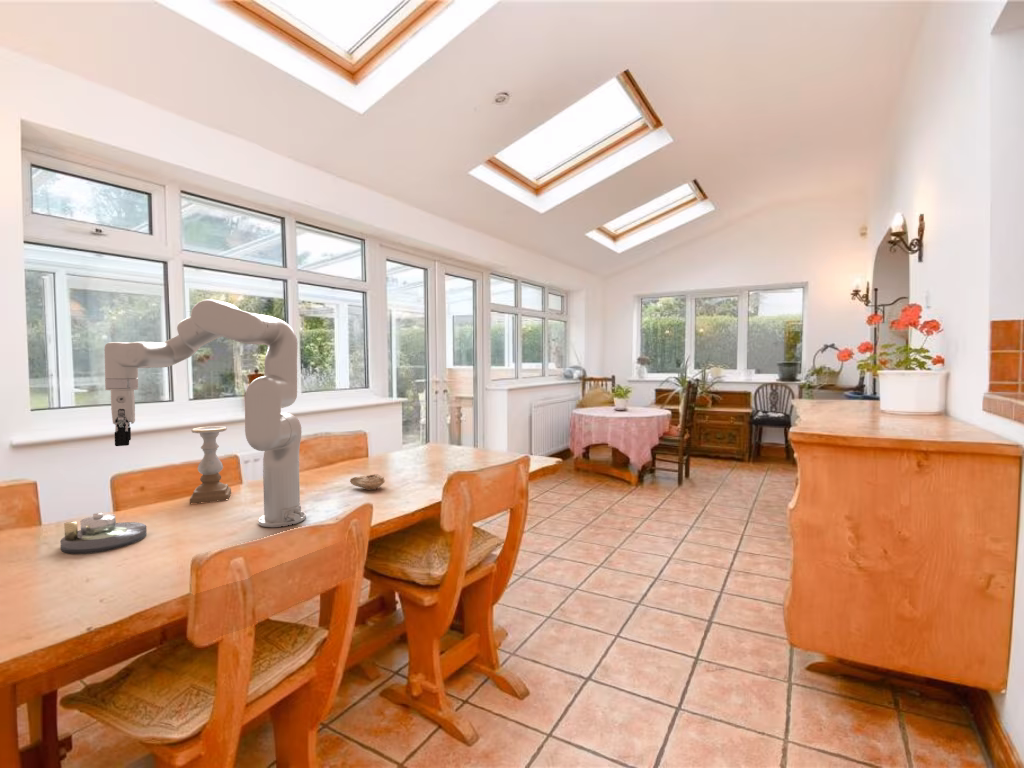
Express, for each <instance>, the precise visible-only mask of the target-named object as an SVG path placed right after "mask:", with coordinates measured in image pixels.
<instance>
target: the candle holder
mask: <svg viewBox="0 0 1024 768" xmlns="http://www.w3.org/2000/svg"><path fill="white" fill-rule="evenodd" d="M227 430H228V428H227V426H221V425H220V426H218V425H216V426H214V425H213V426H212V425H211V426H200V427H196V428H195V427H194V428H192V429H191V430H190V431H191V433H192V434H193V433H194V434H199V435H200V437H201V439H202V441H203V443H202V445H201V446H200V449H201V450H202V452H203V457H202V458H201V460H200V463H198V466H197V471H198V472H199V473H200V474H202V475H201V476H200V482H201V484H200V485H198V486H196V488H195V489H194V490H193V492H192V494H191V496H190V497H189V504H190V505H192V504H191V503H197V504H202V503H201V502H207V503H211V502H210V501H217V500H226V499H228V500H229V499H230V497H231V495H232V487H230V486H229V484H228V483H223V482H221V481H220V480H222V476H221V474H220V472H221V471H222V470H223V469H224V465H223V462H222V461H221V459H220V458H219V457H218V455H217V450H218V448H219V447H220V446H219V445H218V443H217V441H216V440H217V437H218V436H219V435H220V433H222V432H226V431H227ZM230 494H231V495H230ZM229 496H230V497H229ZM226 501H227V500H226ZM217 502H218V501H217Z"/></svg>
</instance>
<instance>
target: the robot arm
mask: <svg viewBox="0 0 1024 768" xmlns="http://www.w3.org/2000/svg"><path fill="white" fill-rule="evenodd" d="M176 331H177V335H175V336H173V337H172V338H169V339H167V340H166V341H165V340H164V341H163V342H156V341H155V342H154V341H134V342H126V341H125V342H123V341H109V342H107V343H105V345H104V387H105V391H110V407H111V409H110V410H111V419H112V424H113V425H114V426H115V428H114V429H115V430H114V431H115V432H114V446H115V447H124V446H125V447H126V446H130V441H131V439H132V433H131V432H132V431H131V426H130V425H131V424H134V423H135V422H136V403H135V402H136V401H135V400H136V399H135V391H136V390H139V369H150V368H152V369H153V368H155V369H156V368H159V369H160V368H161V369H162V368H168V367H172V366H174V365H176V364H179V363H180V362H183V361H184V360H188V359H189V358H190V357H192V356H193V355H194V354H195V353H196V352H197V351H199V349H200V348H201V347H202V346H203V347H204V346H205V345H206V344H209V343H211V342H213V341H215V340H217V339H219V338H221V337H223V338H226V339H228V340H231V341H235V342H237V343H241V344H247V345H265V346H267V351H266V353H265V357H264V376H263V375H262V376H259V377H257V378H255V379H253V380H252V381H251V382H250V383H249V385H248V386H247V388H246V391H245V396H244V435H245V439H246V441H247V443H248V445H249V446H250V447H251V448H252V449H254V450H256V451H258V452H263V459H262V460H263V461H262V472H263V473H262V476H263V482H262V483H263V515H261V516H260V517H259V518H258V520H257V522H258V525H259V526H261V527H264V528H265V527H266V528H282V527H281V526H283V527H287V526H288V525H289V526H292V524H293V525H295V524H299V523H301V522H303V521H305V519H306V518H307V513H306V512H304V511H302V505H301V494H300V493H301V492H300V450H301V449H300V446H301V440H302V425H301V424H302V423H301V422H300V420H299V419H298V417H297V416H295V415H294V414H292V413H290V412H284V411H282V409H284V408H287V407H289V406H290V407H291V406H292V405H293V404H295V402H296V401H297V397H298V338H297V335H296V333H295V331H294V329H293V327H292V326H290V324H288V323H287V322H286V321H284V320H282V319H280V318H278V317H274V316H271V315H267V314H262V313H261V314H259V313H253V312H248V311H244V310H241V309H240V308H239V307H237V306H236V305H234V304H232V303H230V302H226V301H223V300H222V301H221V300H217V299H204V300H200V301H198V302H197V303H196V304H195V305H194V306H193V307H192V308H191V311H190V316H189V317H186V318H185V319H183V320H180V321H179V322H178V324H177V327H176Z"/></svg>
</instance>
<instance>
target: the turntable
mask: <svg viewBox="0 0 1024 768" xmlns="http://www.w3.org/2000/svg"><path fill="white" fill-rule="evenodd" d="M63 525H64V527H63V528H64V536H63V537H62V538H61V539H60V551H61V552H63V553H65V554H72V555H81V554H92V553H93V554H94V553H101V552H105V551H110V550H115V549H119V548H122V547H126V546H130V545H132V544H135V543H137V542H139V541H141V540H142V539H145V537H147V525H146V524H145V523H142V522H137V521H136V522H134V521H133V522H132V521H131V522H130V521H129V522H128V521H127V522H125V521H124V522H116V527H115V528H114V529H112V530H109V531H106V532H102V533H96V534H82V533H81V529H80V530H78V521H76V520H73V521H68V522H67V521H66V522H65V523H63Z"/></svg>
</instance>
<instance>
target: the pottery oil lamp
mask: <svg viewBox="0 0 1024 768" xmlns="http://www.w3.org/2000/svg"><path fill="white" fill-rule="evenodd" d="M385 482H386V480H385V476H381V475H379V474H377V473H374V474H369V475H360V476H354V477H351V478H350V480H349V483H350V484H351V485H352V486H355V487H358V488H362V489H364V490H365V489H375V490H377V489H378V488H379V487H381V486H382V485H383V484H384V483H385ZM376 488H377V489H376Z"/></svg>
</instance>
